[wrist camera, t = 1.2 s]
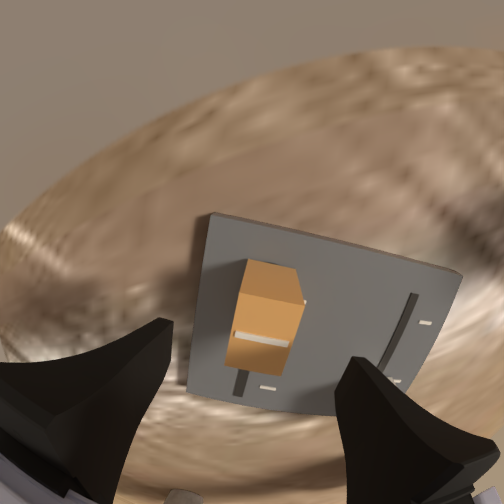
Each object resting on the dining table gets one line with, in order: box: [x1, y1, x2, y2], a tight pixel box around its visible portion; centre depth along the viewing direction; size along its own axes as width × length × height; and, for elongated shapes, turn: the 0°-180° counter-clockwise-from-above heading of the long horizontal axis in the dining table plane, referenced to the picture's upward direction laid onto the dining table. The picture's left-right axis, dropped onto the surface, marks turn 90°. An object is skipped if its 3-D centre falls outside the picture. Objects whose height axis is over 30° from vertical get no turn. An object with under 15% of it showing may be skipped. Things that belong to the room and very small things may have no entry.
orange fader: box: [224, 259, 305, 376], centre depth 14 cm, size 4×3×5 cm
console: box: [186, 212, 463, 416], centre depth 18 cm, size 14×18×1 cm
